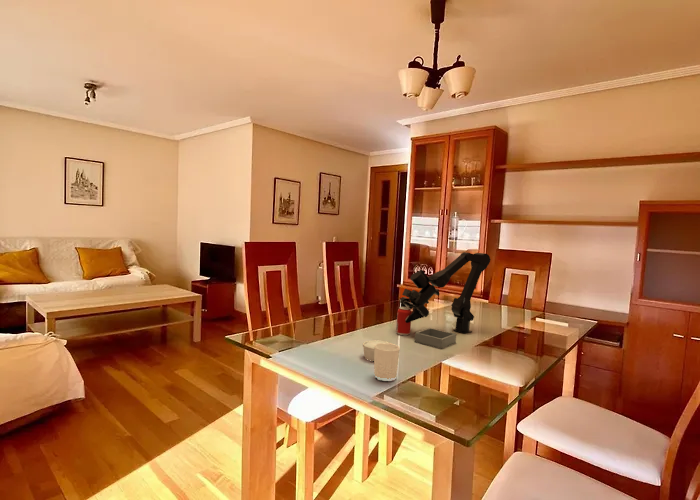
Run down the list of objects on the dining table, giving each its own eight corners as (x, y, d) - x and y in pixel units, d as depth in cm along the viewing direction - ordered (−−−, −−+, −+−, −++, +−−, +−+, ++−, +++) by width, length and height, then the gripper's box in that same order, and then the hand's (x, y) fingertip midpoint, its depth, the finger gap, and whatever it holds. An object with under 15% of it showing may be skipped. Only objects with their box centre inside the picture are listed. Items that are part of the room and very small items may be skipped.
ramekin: (362, 352, 141) (362, 338, 141) (391, 354, 141) (392, 340, 141) (362, 363, 130) (362, 348, 130) (394, 365, 130) (395, 350, 130)
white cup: (371, 373, 121) (372, 342, 121) (395, 373, 122) (396, 343, 121) (374, 383, 113) (376, 350, 113) (400, 383, 114) (402, 351, 114)
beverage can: (409, 336, 166) (411, 309, 166) (395, 335, 168) (397, 308, 167) (410, 333, 173) (412, 307, 172) (396, 331, 174) (398, 305, 173)
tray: (429, 336, 168) (429, 327, 168) (455, 343, 160) (456, 334, 160) (414, 342, 159) (415, 332, 158) (441, 349, 150) (442, 339, 150)
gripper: (404, 280, 179) (381, 303, 176) (424, 286, 161) (399, 312, 158) (418, 296, 182) (396, 319, 179) (439, 304, 164) (415, 329, 161)
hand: (401, 319), depth 169 cm, fingers open, 9 cm apart
